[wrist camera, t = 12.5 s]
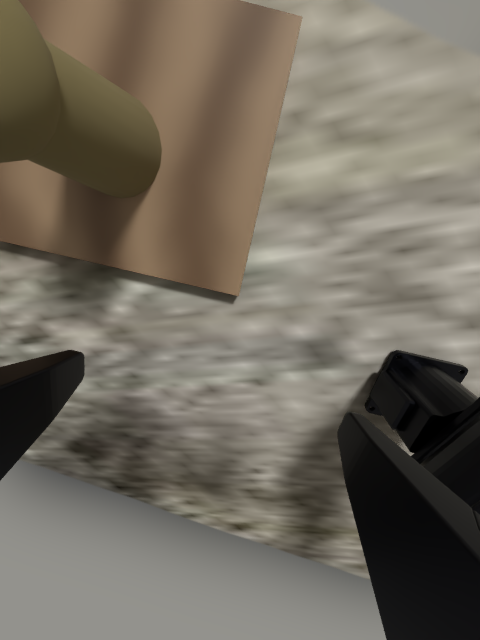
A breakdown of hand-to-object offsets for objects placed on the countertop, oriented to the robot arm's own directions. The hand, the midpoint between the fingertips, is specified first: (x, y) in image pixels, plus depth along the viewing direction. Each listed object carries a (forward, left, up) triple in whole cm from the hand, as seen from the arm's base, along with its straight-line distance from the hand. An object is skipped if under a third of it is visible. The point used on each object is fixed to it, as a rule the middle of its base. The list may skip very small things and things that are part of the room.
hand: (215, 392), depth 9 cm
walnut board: (+10, -8, -13) cm, 18 cm away
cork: (+10, -8, -12) cm, 17 cm away
